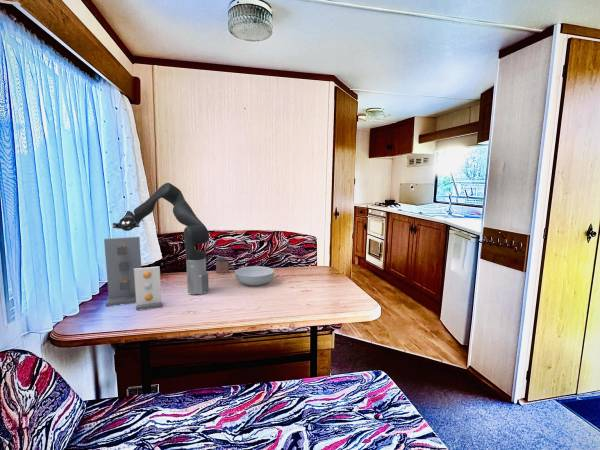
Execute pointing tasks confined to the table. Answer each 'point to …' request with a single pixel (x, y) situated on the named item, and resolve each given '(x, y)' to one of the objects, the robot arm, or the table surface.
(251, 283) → the serving bowl
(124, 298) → the button panel
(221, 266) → the lighter
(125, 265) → the button middle
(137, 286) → the pattern card
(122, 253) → the button top
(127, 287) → the button bottom
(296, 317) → the table surface
